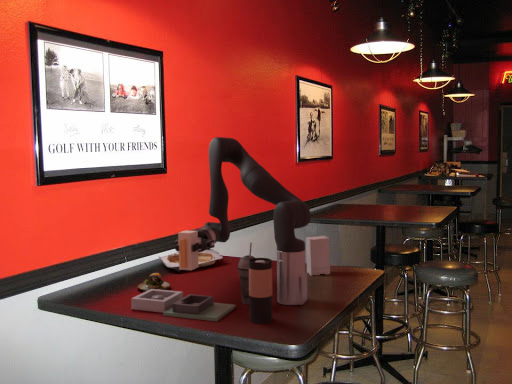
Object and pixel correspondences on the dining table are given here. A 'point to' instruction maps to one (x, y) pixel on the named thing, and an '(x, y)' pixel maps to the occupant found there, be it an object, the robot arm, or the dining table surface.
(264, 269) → the travel mug
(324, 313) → the dining table surface
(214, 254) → the oval serving dish
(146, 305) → the fan
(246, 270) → the beverage cup
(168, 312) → the header board
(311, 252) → the skincare box
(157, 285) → the burger
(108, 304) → the dining table surface
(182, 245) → the plug
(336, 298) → the dining table surface
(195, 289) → the dining table surface
